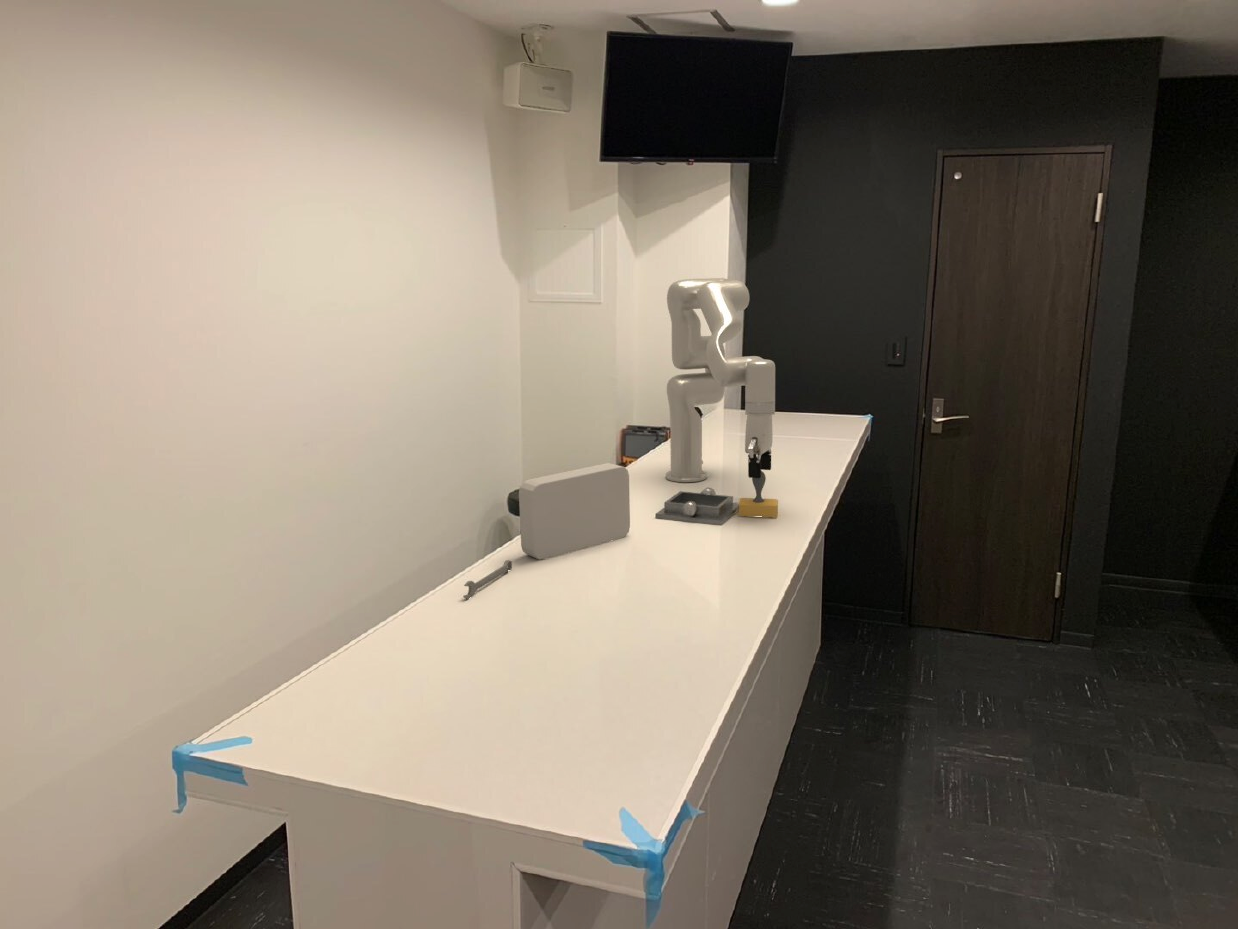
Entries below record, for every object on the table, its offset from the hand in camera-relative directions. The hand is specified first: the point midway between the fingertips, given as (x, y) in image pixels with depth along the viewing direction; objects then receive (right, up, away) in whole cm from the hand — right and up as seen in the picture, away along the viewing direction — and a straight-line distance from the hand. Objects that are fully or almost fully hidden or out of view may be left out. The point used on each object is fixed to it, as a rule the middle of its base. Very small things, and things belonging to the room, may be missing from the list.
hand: (759, 473), depth 243 cm
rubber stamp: (0, -11, +3) cm, 12 cm away
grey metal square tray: (-15, -10, +6) cm, 19 cm away
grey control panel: (-46, -17, -19) cm, 53 cm away
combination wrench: (-64, -24, -43) cm, 81 cm away
